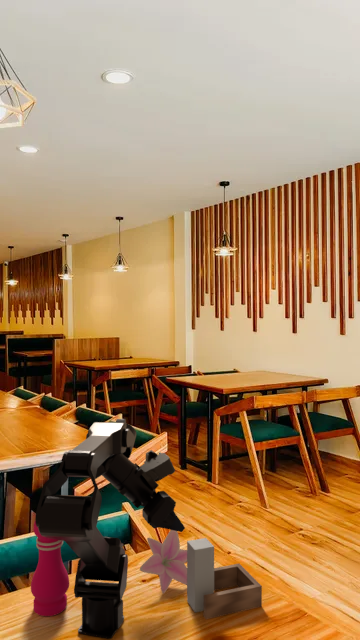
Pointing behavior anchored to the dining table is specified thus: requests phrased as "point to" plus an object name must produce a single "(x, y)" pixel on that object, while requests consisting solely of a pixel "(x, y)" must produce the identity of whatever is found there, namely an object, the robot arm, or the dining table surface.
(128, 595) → the dining table surface
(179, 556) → the lily
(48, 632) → the dining table surface
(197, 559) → the tall grey pillar block
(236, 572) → the bay
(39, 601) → the pepper mill
